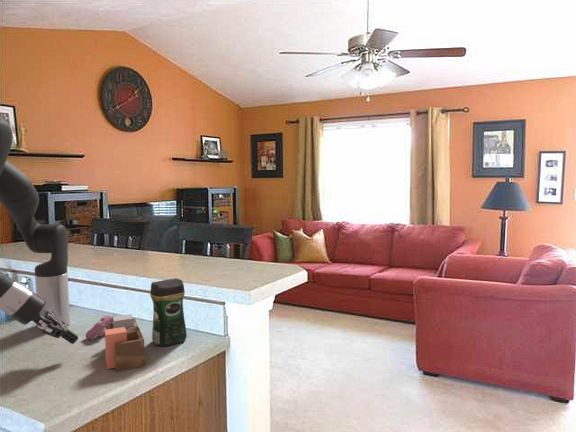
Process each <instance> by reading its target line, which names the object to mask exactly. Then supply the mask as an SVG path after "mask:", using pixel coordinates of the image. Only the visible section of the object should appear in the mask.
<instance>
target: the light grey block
mask: <svg viewBox="0 0 576 432" xmlns="http://www.w3.org/2000/svg"><path fill="white" fill-rule="evenodd" d="M113 316H114V317H113V329H114V328H121V327H125V328H130V327H133V319H134V318H133V315H132V314H130V313H129V314H123V315H113Z"/></svg>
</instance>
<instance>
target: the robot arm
mask: <svg viewBox="0 0 576 432" xmlns="http://www.w3.org/2000/svg"><path fill="white" fill-rule="evenodd" d="M13 137H14V136H13V131H12V127H11V125H10V124H9V123H8V122H7V121H5V120H4V119H1V118H0V202H1V204H2V206H3V207H4V208H5V209H6V211H7V212H8V214H9V215H10V217H11V218H12V220H13V221H14V224H15V225H16V226H17V229H18V230H19V232H20V234H21V236H22V237H21V238H22V239H23V240H24V242H25V244H26V246H27V248H28V250H30V251H31V253H32V252H33V253H35V254H51V256H50V259H49V260H48V261H45V262H42V263H40V264H38V265H36V266H35V267H34V280H35V292H34V291H32V290H31V289H29V288H28V287H27V286H25V285H24V284H22V283H20V282H18V281H17V280H15V279H13V278H12V277H10V276H9V275H7V274H6V273H5V272H3V271H2V270H0V311H2V312H3V313H4V314H6V315H8V316H9V317H11V318H12V319H14V320H16V321H17V322H18V323H20V324H22V325H24V326H26V325H28V324H29V323H30V322H33V323H34V324H36V327H37V328H38V329H39V330H41V332H42V334H44V335H46V336H50V337H53V338H56V339H60V338H62V339H64V340H65V341H67V342H68V343H70V344H71V345H74V344H75V343H76V342H77V341H78V340H79V336H78V334H76V333H74V332H73V331H72V330H71V329H69V328H68V326H69V325H70V324H71V316H70V315H71V314H70V298H69V295H70V294H69V281H68V279H69V277H68V265H69V264H68V262H69V257H68V256H69V255H68V253H69V252H68V251H69V250H68V247H69V246H68V243H69V239H68V238H69V237H68V231H67V228H66V226H65V225H63V224H56V223H54V224H53V223H51V224H48V223H47V224H46V223H45V224H44V223H43V224H41V223H38V222H37V220H36V218H35V214H36V212H37V210H38V207H39V203H40V196H39V193H38V191H37V189H36V188H35V186H34V184H33V182H32V181H31V180H30V178H29V176H27V175H26V174H25V173H24V172H23V171H21V170H20V169H19V168H18V167H16V166H15V165H14V164H12V163H11V162H10V161H8V156H9V154H10V151H11V148H12V144H13Z"/></svg>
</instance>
